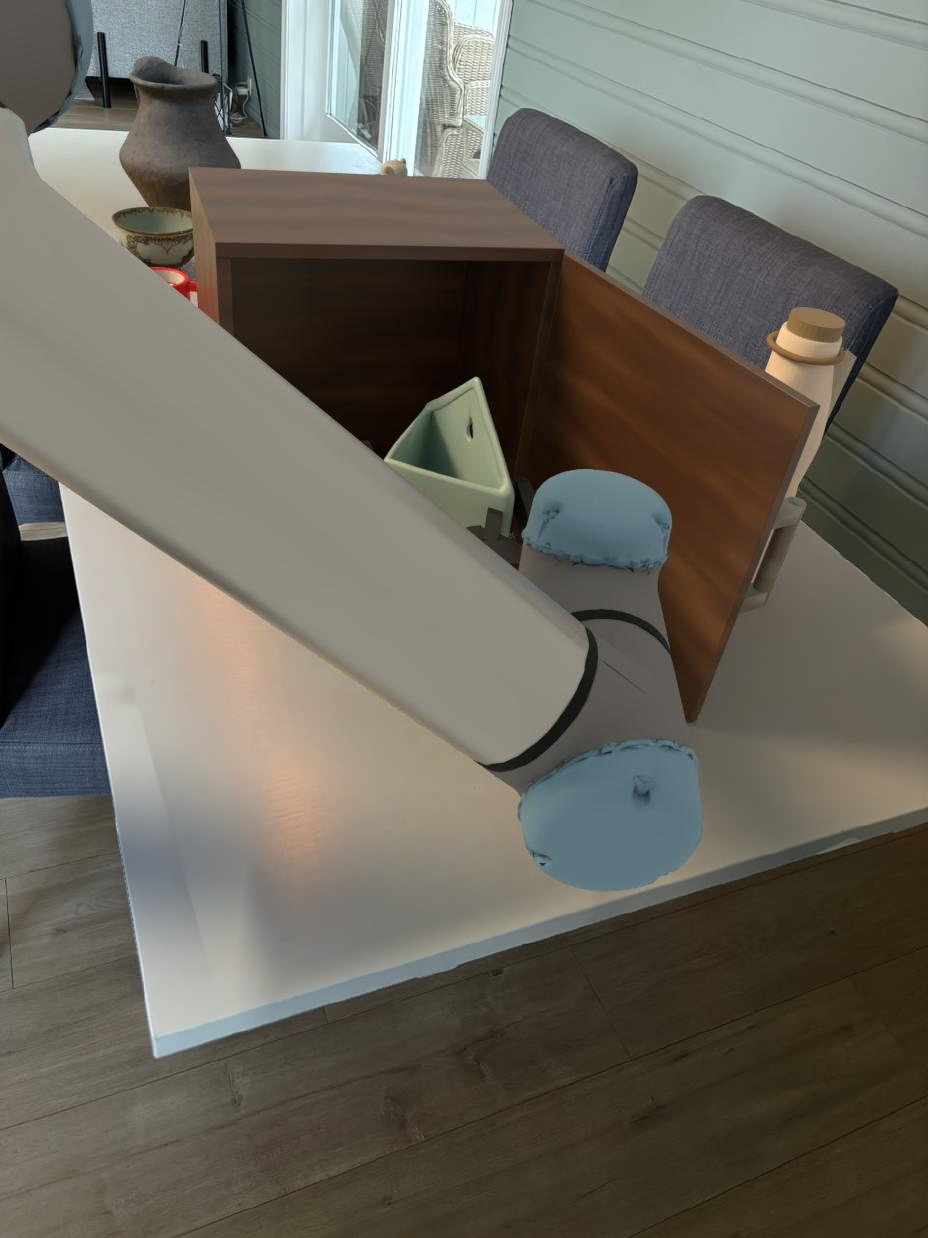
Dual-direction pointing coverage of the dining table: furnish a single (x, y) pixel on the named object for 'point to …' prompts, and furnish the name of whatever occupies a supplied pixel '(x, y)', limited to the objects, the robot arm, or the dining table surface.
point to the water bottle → (810, 372)
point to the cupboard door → (675, 452)
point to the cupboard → (380, 292)
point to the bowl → (156, 235)
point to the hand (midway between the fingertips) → (413, 451)
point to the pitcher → (172, 132)
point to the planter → (457, 457)
